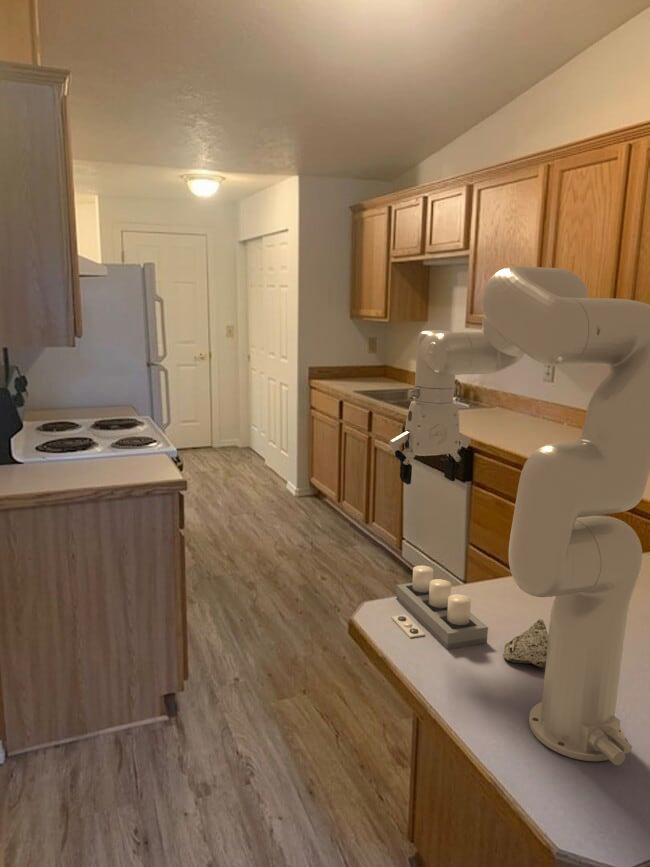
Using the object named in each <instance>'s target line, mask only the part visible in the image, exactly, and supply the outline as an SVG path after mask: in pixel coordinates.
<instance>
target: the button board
mask: <svg viewBox="0 0 650 867" xmlns="http://www.w3.org/2000/svg"><path fill="white" fill-rule="evenodd" d="M396 597H397V598H396ZM395 599H396V600H397V601H398V602H399V603H400V604H401V605H402V606H403V607H404V608H405V610H407V611H408V613H410V614H411V615H412V616H413V617H414V618H415V619H416V620H417V621H418V622H419V623H420V624H421V625H422V626H423V627H424V628H425V629H426V630H427V631H429V633H430V634H431V635H432V636H433V637H434V638H435V639H436V640H438V642H439V643H440V644H441V645H442V646H443V647H444V648H445V649H446V650H452V649H458V648H463V647H469V646H476V645H480V644H486V643H487V642H488V631H489V627H488V626H487V625H486V624H485V623H484V622H482V621H481V620H480V619H479V618H478V617H476V616H475V615H474V614H473V613H472V612H470V621H469V623H468V624H466V625H456V624H452V623H450V622H449V621H448V620H447V610H448V607H446V608H437V607H434V606H431V605H430V604H429V592H417V591H415V590H413V588H412V582H409V583H401V584H396V595H395Z"/></svg>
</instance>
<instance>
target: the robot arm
mask: <svg viewBox="0 0 650 867" xmlns="http://www.w3.org/2000/svg"><path fill="white" fill-rule="evenodd" d="M481 309H482V313H483V314H482V315H483V316H482V320H481V321H482V322H481V324H482V325H481V326H482V332H479V331H477V332H476V331H474V332H472V331H466V332H465V331H463V332H462V331H461V332H456V331H455V332H453V331H450V330H442V329H441V330H438V329H432V330H431V329H430V330H428V329H427V330H423V331H421V332H420V333H419V334H418V336H417V346H416V360H415V373H414V374H415V375H414V385H413V389H409V390H408V392H407V395H408V397H409V398H412V399H413V401H410V404H409V407H408V412H407V415H406V420H405V426H404V432H402V433H401V434H399V435H397V436H395V437H394V438H392V439H391V440H389V441H388V445H389V447H390V450H391V451H392V455H394V457H395V458H396V459H397V461H399V463H400V464H399V478H400V480H401V482H403V483H404V484H406V485H411V484H412V473H413V472H412V471H413V470H412V469H413V465H412V464H411V462H412V461H413V459H414V458H415V457H416V456H419V457H421V456H423V457H427V456H442V455H443V456H444V455H447V457H445V463H444V476H443V477H444V478H445V479H447V480H449V481H450V482H455V481H456V476H457V474H458V473H457V472H458V471H457V470H458V462H460V461H461V458H462V457H463V456H464V455H465V453H467V448H468V447H469V445H470V444H471V442H472V441H471V440H472V439H471V438H470V437H469V436H467V435H465V434H463V433H461V432H460V414H459V406H458V402H454V398H455V396H454V395H455V383H456V375H459V376H460V375H491V374H494V373H495V374H496V373H498V372H501V371H503V370H506V369H508V368H510V367H512V366H514V365H516V364H518V363H519V362H520V361H521V360H522V359H523V358H524V355H525V354H526V355H527V356H528V357H530V358H531V359H532V360H534V361H535V362H538V363H540V364H543V365H546V366H549V367H556V368H558V367H561V368H565V367H602V366H603V367H606V366H607V367H608V368H609V369H610V371H609V373H608V374H607V375H606V376H605V378H604V379H603V380H601V381H600V383H599V385H598V386H597V387H596V389H595V391H594V392H593V394H592V396H591V398H590V399H589V402H588V404H587V406H586V407H587V409H586V414H585V419H584V425H583V428H582V431H581V434H580V436H579V438H578V439H576V441H575V440H574V441H565V442H561V441H560V442H553V443H548V444H545V445H543V446H541V447H539V448H537V449H535V450H534V451H533V452H531V454H530V455H529V457H528V458H527V460H526V461H525V463H524V465H523V467H522V470H521V473H520V475H519V481H518V486H517V491H516V498H515V503H514V512H513V515H512V516H513V517H512V524H511V530H510V534H509V543H508V564H509V565H508V566H509V569H510V573H511V576H512V578H513V581H514V582H515V584H516V586H517V587H518V588H519V589H520V590H521V591H523V592H524V593H526V595H529V596H532V597H536V598H552V597H554V599H553V603H552V606H551V610H550V617H549V624H548V625H549V626H548V645H547V655H546V666H545V669H544V678H543V689H542V700H541V701H540V702H538V703H537V704H535V705H533V706H532V708H531V709H530V711H529V715H528V716H529V717H528V725H529V728H530V730H531V732H532V734H533V736H534V737H535V738H536V739H537V740H538V741H539V742H541V743H542V744H543V746H545V747H547V748H549V749H550V750H552V751H554V752H556V753H558V754H560V755H562V756H565V757H568V758H570V759H575V760H578V761H586V762H602V761H608V760H609V761H610V762H611V763H612V764H614V765H615V766H620V765H621V764H623V763H624V761H625V759H626V754H629V753H630V752H631V751H632V748H633V746H632V744H631V743H630V742H628V740H626V736H625V732H624V730H623V728H622V726H621V720H620V718H618V717H617V716H616V709H617V701H618V700H617V699H618V692H619V684H620V676H621V668H622V666H621V665H622V660H623V649H624V642H625V641H624V640H625V636H626V627H627V622H628V613H629V609H630V604H631V600H632V596H633V593H634V590H635V588H636V586H637V583H638V579H639V577H640V573H641V569H642V564H643V548H642V543H641V541H640V538H639V536H638V534H637V533H636V531H635V530H634V529H633V528H632V527H631V526H630V525H629V524H627V522H625V521H623V520H621V519H619V518H616V517H613V516H609V515H611V514H618V513H623V512H627V511H629V510H632V509H633V508H635V507H636V506H637V505H639V504H640V502H641V500H642V498H643V497H644V494H645V491H646V488H647V483H648V480H649V476H650V304H648V303H646V302H642V301H638V300H634V299H633V300H632V299H626V298H625V299H624V298H611V297H610V298H609V297H608V298H606V297H604V298H603V297H601V298H599V297H598V298H594V297H593V298H592V297H591V298H590V297H589V291H588V288H587V285H586V283H585V282H584V281H583V279H582V278H581V277H580V276H579V275H578V274H576V273H575V272H573V271H571V270H567V269H563V268H557V267H543V266H542V267H541V266H540V267H539V266H538V267H537V266H522V265H521V266H520V265H519V266H517V265H516V266H514V265H512V266H508V267H504V268H502V269H499V270H498V271H497V272H495V273H494V274H493V275H492V276H491V277H490V278H489V280H488V281H487V283H486V285H485V286H484V289H483V292H482V298H481ZM401 444H403V447H404V450H403V451H401V450H400V445H401Z"/></svg>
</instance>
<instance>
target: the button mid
mask: <svg viewBox="0 0 650 867" xmlns="http://www.w3.org/2000/svg"><path fill="white" fill-rule="evenodd" d="M451 593H452V583H451V582H450V581H449V580H446V579H441V578H435V579H434V578H433V580H431V581H430V588H429V604H430V605H431V606H434V607H437V608H446V607H448V597H449V596H450V595H452V594H451Z"/></svg>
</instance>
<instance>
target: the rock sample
mask: <svg viewBox="0 0 650 867" xmlns="http://www.w3.org/2000/svg"><path fill="white" fill-rule="evenodd" d="M548 634H549V632H548V631H547V628H546V624H545V621H544V620H543V619H542V618H540V619H537V620H536V622H535V623H534V624H533V625H531V626H530V627H529V628H528V629H527V630H525V631H524V632H522V633H521V634H519V635H517V636H515V637H513V639H511V640H510V641H509V642H507V643H505V644H504V648H503V649H504V650H503V654H502V656H503V658H504V659H505V660H506V661H509V662H511V663H516V664H517V663H518V664H532V665H534V666H536V667H538V668H541V669H544V670H545V666H546V655H547V645H548Z"/></svg>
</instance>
